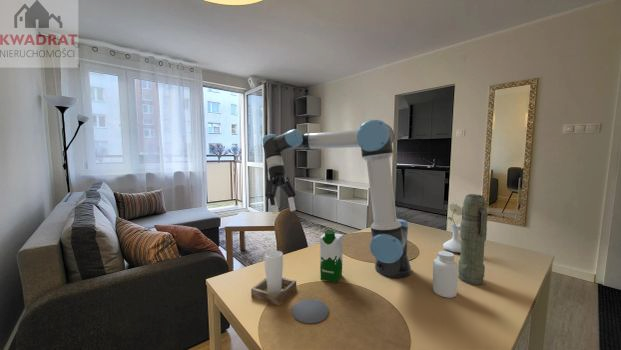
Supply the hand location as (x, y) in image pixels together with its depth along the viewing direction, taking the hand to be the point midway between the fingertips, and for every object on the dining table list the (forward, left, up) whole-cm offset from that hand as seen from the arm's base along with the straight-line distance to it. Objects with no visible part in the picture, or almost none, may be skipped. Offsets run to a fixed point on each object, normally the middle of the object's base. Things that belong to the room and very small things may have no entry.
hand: (285, 211), depth 112 cm
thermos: (-75, -23, -26) cm, 82 cm away
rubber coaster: (-25, +24, -26) cm, 43 cm away
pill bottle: (-65, -8, -26) cm, 70 cm away
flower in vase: (-71, -56, -26) cm, 94 cm away
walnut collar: (-8, +20, -26) cm, 34 cm away
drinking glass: (-8, +20, -26) cm, 34 cm away
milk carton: (-23, 0, -26) cm, 34 cm away
